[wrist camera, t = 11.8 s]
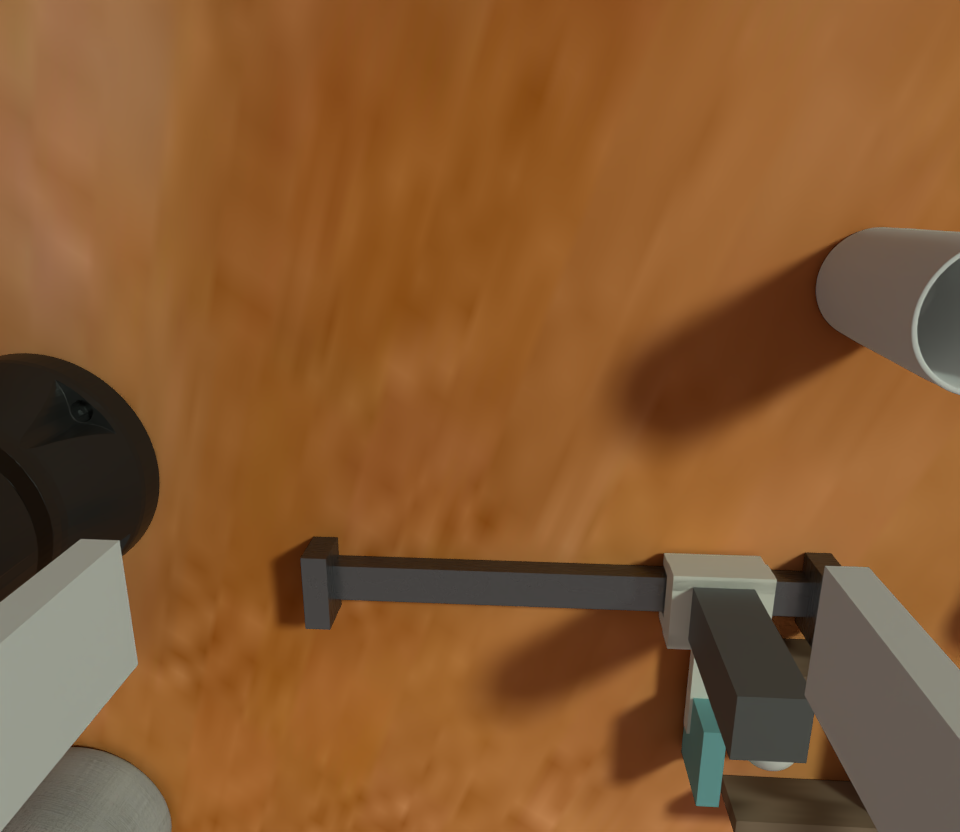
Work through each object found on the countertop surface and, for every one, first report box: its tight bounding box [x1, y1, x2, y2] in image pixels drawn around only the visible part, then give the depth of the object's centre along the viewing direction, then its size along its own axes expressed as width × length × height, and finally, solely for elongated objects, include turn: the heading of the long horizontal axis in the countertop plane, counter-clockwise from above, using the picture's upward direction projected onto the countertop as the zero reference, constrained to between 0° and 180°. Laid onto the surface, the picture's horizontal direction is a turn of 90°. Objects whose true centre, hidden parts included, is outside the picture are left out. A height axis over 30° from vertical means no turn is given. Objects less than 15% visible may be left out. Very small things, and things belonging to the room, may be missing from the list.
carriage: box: [659, 553, 814, 807], centre depth 43 cm, size 6×15×13 cm, turn 0°
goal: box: [721, 639, 878, 832], centre depth 49 cm, size 11×12×4 cm
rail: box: [300, 537, 841, 649], centre depth 48 cm, size 33×5×3 cm, turn 90°
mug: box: [816, 227, 960, 395], centre depth 36 cm, size 10×7×12 cm, turn 111°
